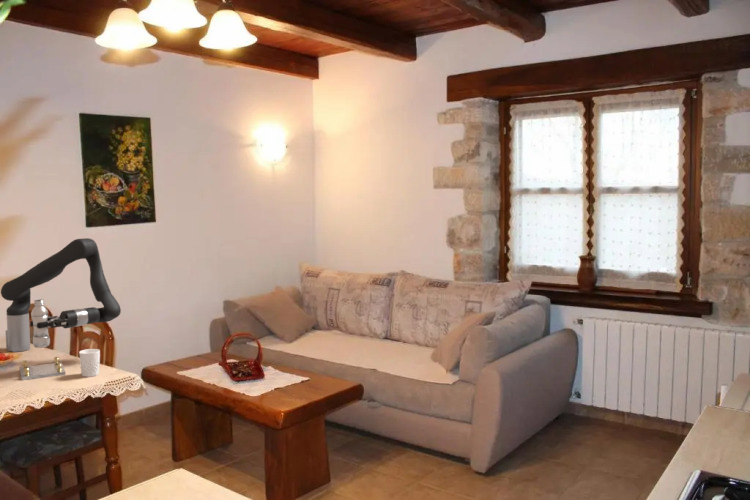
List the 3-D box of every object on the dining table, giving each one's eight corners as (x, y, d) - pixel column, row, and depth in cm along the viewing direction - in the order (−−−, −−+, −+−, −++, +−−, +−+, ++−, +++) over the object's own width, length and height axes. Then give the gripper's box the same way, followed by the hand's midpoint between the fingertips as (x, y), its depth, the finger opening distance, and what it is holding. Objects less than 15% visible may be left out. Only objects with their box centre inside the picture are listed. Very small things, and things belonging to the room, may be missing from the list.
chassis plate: (19, 370, 277) (19, 360, 277) (61, 365, 286) (60, 355, 285) (21, 380, 264) (21, 370, 263) (65, 374, 272) (65, 364, 272)
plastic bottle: (35, 350, 269) (32, 302, 267) (31, 347, 274) (28, 300, 272) (52, 347, 273) (49, 300, 271) (47, 344, 278) (45, 298, 276)
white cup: (91, 378, 268) (91, 354, 267) (75, 376, 270) (74, 352, 269) (104, 372, 275) (104, 349, 274) (88, 371, 278) (88, 348, 276)
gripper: (65, 307, 288) (25, 313, 275) (82, 311, 279) (41, 318, 266) (66, 324, 289) (26, 331, 276) (82, 329, 280) (42, 336, 267)
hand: (34, 324), depth 271 cm, fingers closed on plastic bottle, 5 cm apart
